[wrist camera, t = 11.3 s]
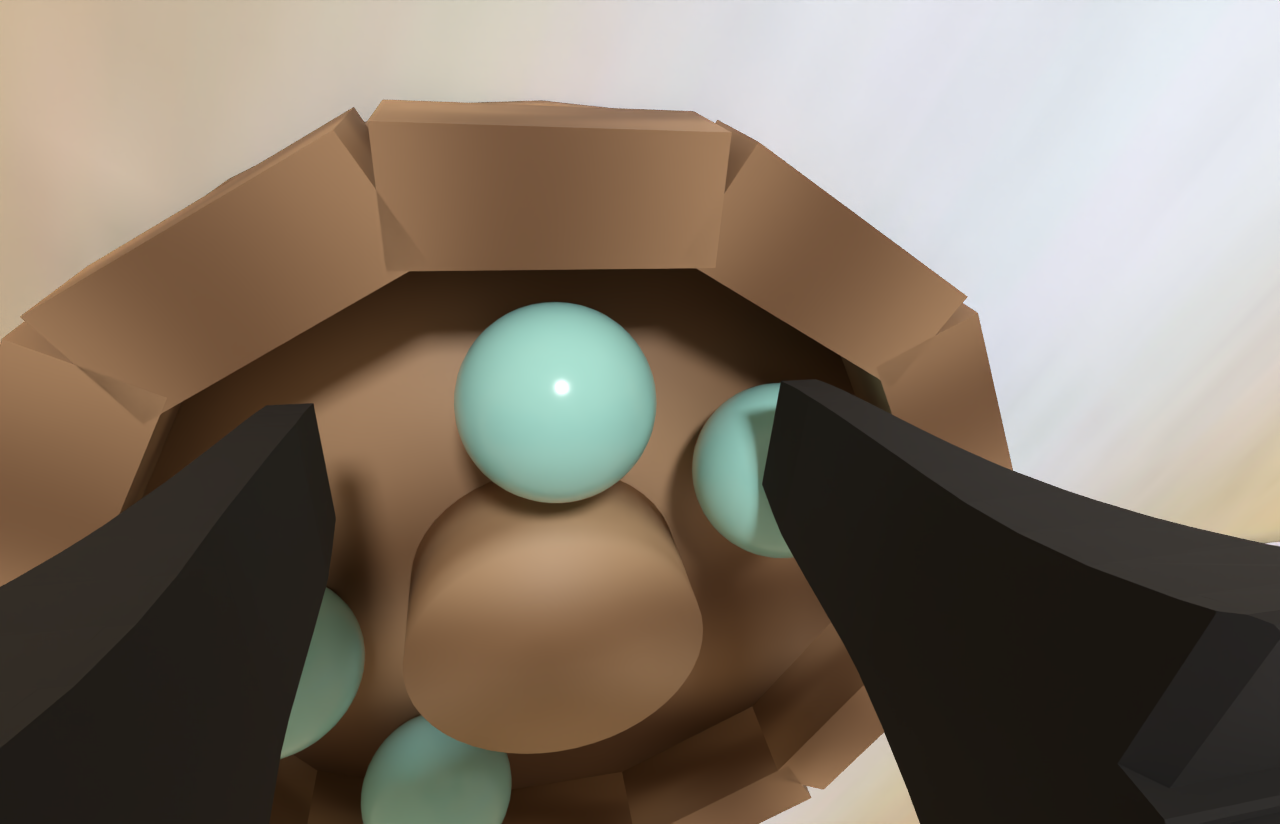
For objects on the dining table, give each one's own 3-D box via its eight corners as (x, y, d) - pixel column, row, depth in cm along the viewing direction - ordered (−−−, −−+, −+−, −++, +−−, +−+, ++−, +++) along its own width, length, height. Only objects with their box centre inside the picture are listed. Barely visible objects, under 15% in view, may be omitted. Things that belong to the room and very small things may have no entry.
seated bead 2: (510, 756, 19) (517, 889, 16) (378, 776, 19) (362, 918, 16) (505, 671, 18) (513, 803, 15) (361, 689, 17) (339, 833, 14)
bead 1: (651, 286, 13) (704, 370, 10) (614, 440, 15) (650, 549, 12) (465, 259, 12) (466, 343, 9) (445, 426, 14) (441, 542, 11)
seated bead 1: (382, 647, 16) (365, 787, 14) (220, 665, 16) (165, 817, 13) (362, 533, 15) (338, 665, 12) (179, 548, 14) (106, 692, 11)
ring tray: (844, 754, 24) (889, 844, 21) (186, 864, 20) (145, 992, 17) (1057, 120, 14) (1188, 150, 11) (-196, 72, 10) (-428, 102, 7)
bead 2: (818, 400, 16) (930, 493, 14) (714, 506, 16) (805, 615, 14) (751, 321, 14) (873, 416, 11) (630, 446, 14) (723, 564, 12)
